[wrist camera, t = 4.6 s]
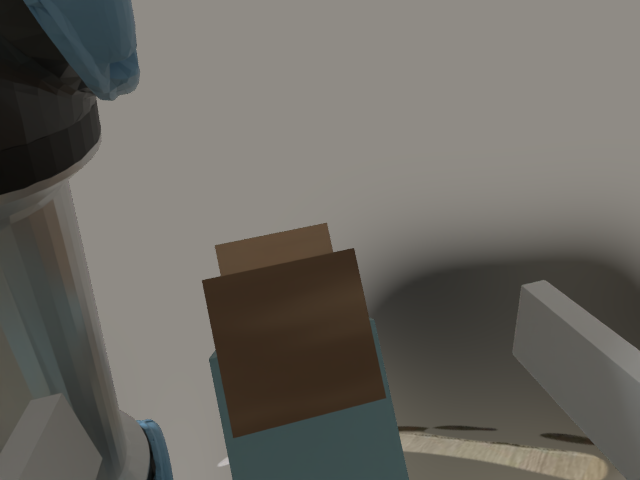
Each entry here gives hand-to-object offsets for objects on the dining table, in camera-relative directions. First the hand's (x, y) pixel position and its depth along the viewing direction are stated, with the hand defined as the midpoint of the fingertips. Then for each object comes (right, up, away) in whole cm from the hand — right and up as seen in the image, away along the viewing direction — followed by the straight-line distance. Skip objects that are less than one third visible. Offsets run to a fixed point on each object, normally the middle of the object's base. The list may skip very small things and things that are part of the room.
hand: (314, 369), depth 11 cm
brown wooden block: (-1, -1, +9) cm, 9 cm away
